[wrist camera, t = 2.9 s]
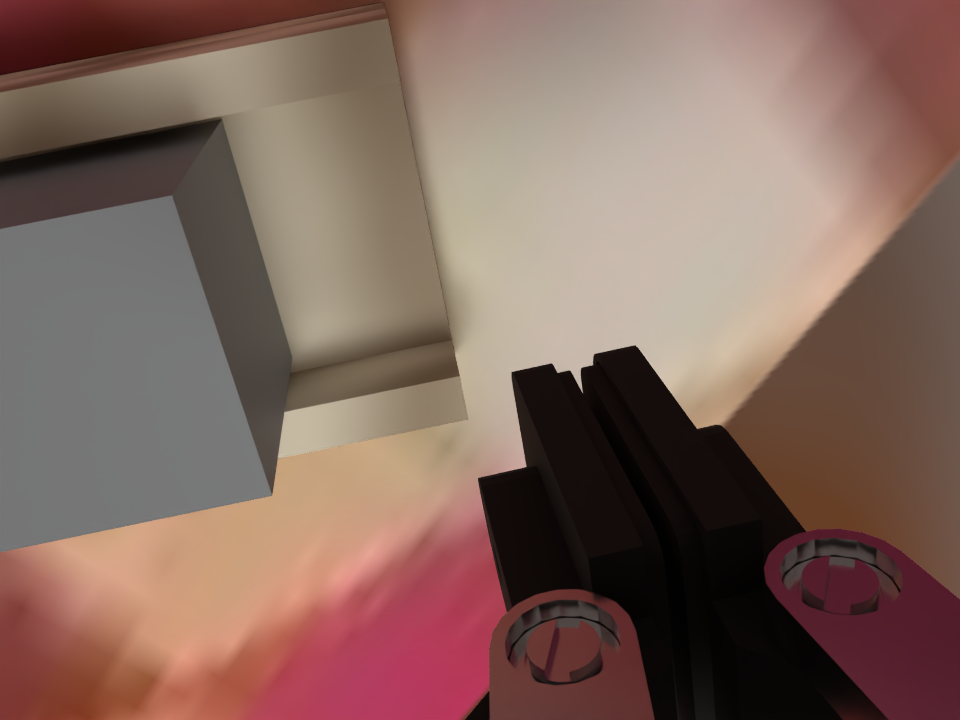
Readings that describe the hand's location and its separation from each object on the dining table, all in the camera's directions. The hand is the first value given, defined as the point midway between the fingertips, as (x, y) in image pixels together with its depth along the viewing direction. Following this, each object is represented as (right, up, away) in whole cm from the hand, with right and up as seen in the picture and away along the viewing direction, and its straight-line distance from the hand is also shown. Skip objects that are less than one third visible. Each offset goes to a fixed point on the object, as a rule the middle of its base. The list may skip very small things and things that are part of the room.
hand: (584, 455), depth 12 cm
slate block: (-9, +3, +9) cm, 14 cm away
